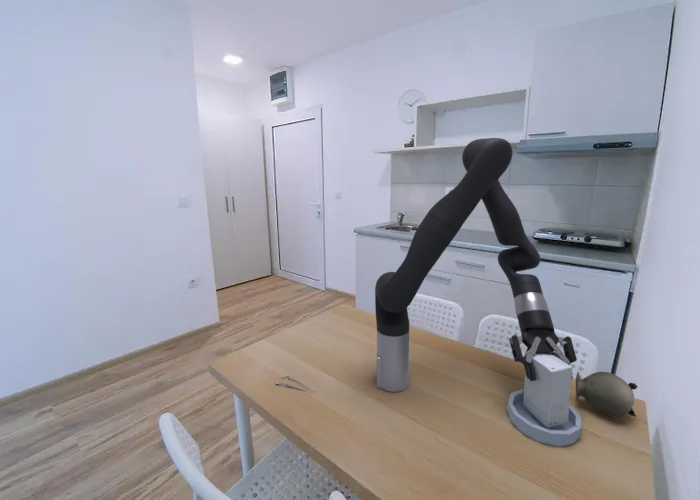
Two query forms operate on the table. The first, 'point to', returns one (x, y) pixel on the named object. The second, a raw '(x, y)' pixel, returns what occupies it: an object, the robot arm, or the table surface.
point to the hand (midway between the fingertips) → (550, 381)
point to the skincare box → (549, 390)
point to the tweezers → (291, 385)
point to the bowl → (537, 429)
